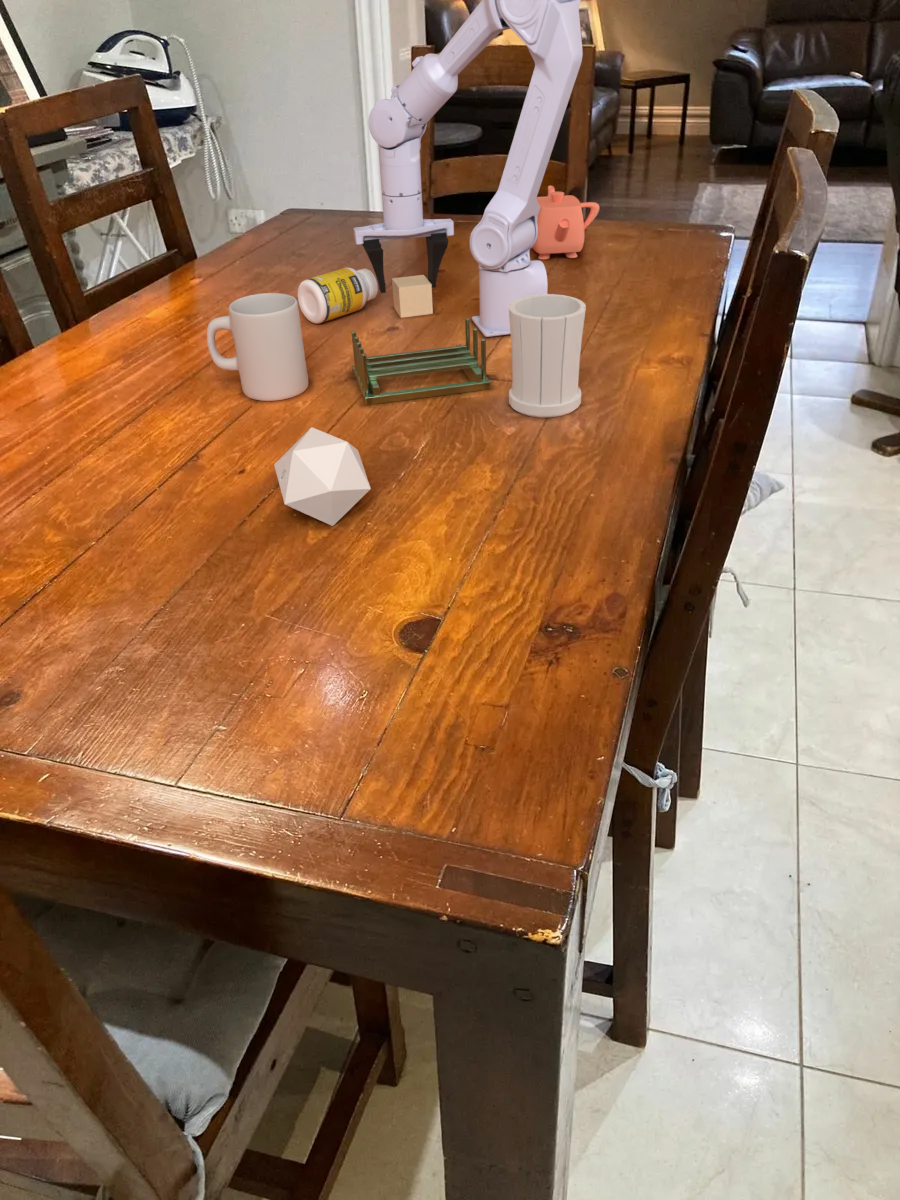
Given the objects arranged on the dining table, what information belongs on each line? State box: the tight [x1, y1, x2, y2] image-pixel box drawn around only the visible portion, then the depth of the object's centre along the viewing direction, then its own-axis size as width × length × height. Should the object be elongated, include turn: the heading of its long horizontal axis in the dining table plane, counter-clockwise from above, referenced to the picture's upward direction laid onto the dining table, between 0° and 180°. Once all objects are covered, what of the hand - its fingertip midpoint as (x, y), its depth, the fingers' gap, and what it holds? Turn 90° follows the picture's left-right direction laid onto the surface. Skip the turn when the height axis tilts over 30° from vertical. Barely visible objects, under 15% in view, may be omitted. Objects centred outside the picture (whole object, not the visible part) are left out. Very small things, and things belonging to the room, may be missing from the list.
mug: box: [206, 292, 310, 402], centre depth 118 cm, size 12×8×11 cm
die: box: [273, 426, 372, 527], centre depth 92 cm, size 8×9×10 cm
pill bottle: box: [297, 267, 379, 325], centre depth 141 cm, size 6×6×12 cm
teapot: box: [531, 185, 600, 260], centre depth 163 cm, size 14×12×10 cm
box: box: [391, 274, 434, 319], centre depth 142 cm, size 5×5×4 cm
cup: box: [508, 293, 587, 419], centre depth 111 cm, size 10×9×12 cm
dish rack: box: [351, 317, 492, 406], centre depth 119 cm, size 16×11×6 cm
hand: (407, 288), depth 141 cm, fingers open, 7 cm apart
